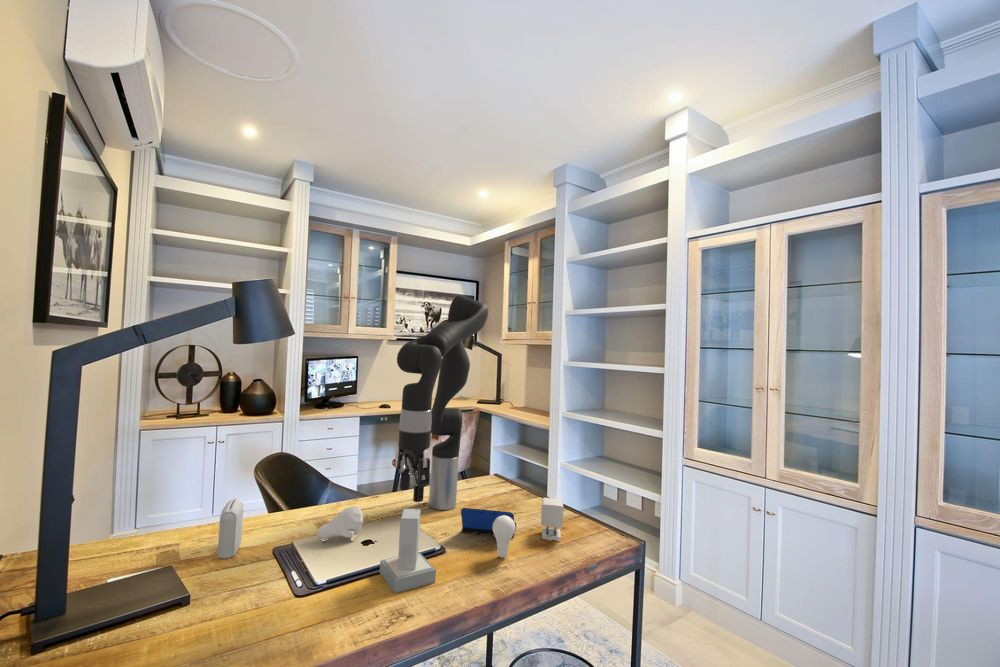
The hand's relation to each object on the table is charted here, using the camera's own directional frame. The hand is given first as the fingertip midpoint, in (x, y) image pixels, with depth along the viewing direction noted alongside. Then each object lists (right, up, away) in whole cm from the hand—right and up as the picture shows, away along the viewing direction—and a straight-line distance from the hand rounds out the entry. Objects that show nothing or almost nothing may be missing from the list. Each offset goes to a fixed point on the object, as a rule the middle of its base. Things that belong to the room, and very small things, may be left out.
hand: (411, 495), depth 108 cm
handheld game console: (+18, -22, +28) cm, 40 cm away
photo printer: (-48, -17, +8) cm, 52 cm away
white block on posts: (+37, -22, +28) cm, 51 cm away
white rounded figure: (-23, -19, +17) cm, 35 cm away
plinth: (-1, -20, 0) cm, 20 cm away
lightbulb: (+22, -21, +12) cm, 33 cm away
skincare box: (-1, -16, 0) cm, 16 cm away
